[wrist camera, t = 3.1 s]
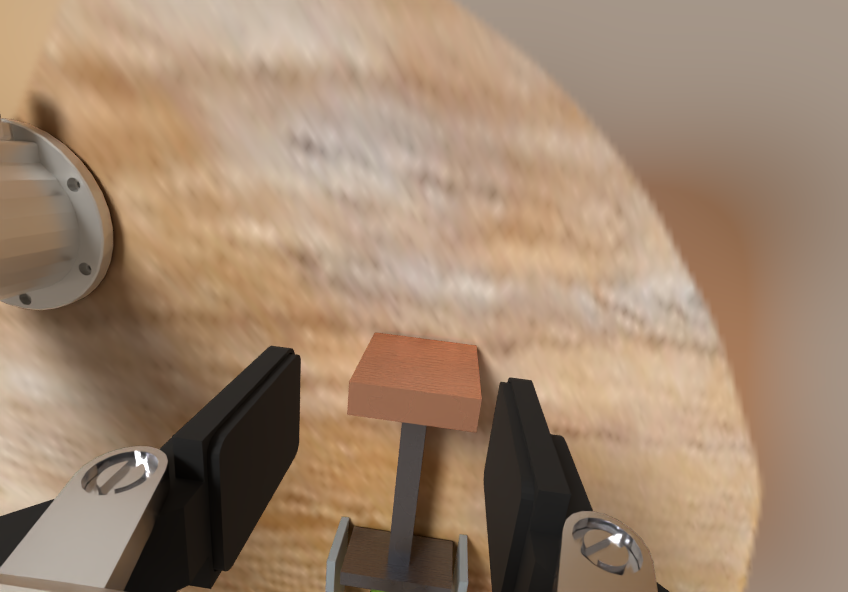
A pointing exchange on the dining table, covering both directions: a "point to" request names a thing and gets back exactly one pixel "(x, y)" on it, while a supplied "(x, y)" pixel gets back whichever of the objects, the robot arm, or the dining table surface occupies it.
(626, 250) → the dining table surface
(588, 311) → the dining table surface
